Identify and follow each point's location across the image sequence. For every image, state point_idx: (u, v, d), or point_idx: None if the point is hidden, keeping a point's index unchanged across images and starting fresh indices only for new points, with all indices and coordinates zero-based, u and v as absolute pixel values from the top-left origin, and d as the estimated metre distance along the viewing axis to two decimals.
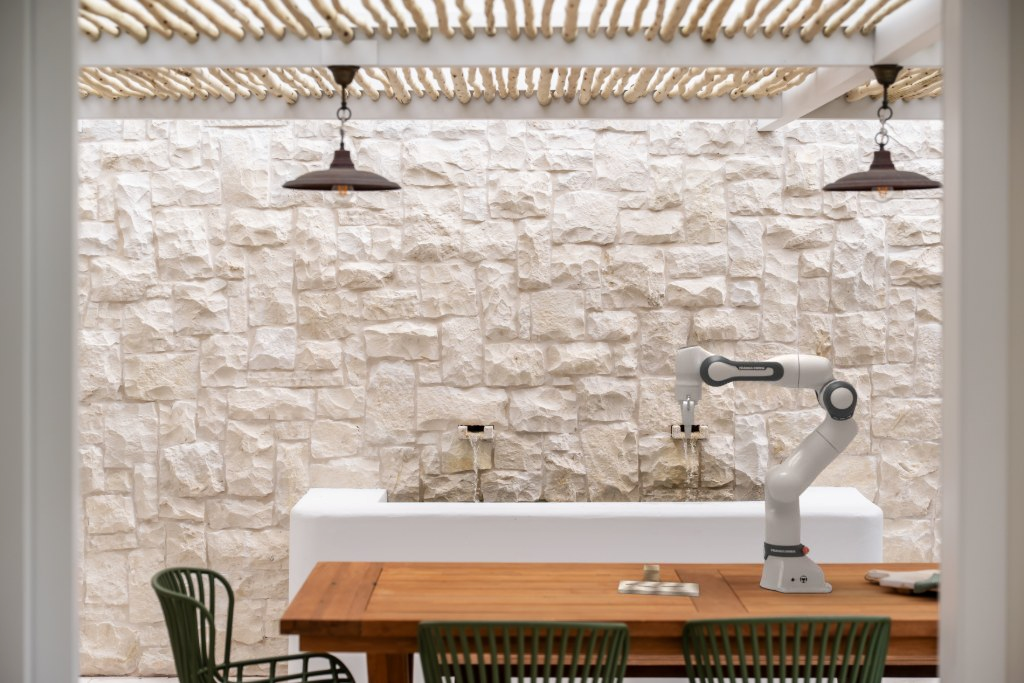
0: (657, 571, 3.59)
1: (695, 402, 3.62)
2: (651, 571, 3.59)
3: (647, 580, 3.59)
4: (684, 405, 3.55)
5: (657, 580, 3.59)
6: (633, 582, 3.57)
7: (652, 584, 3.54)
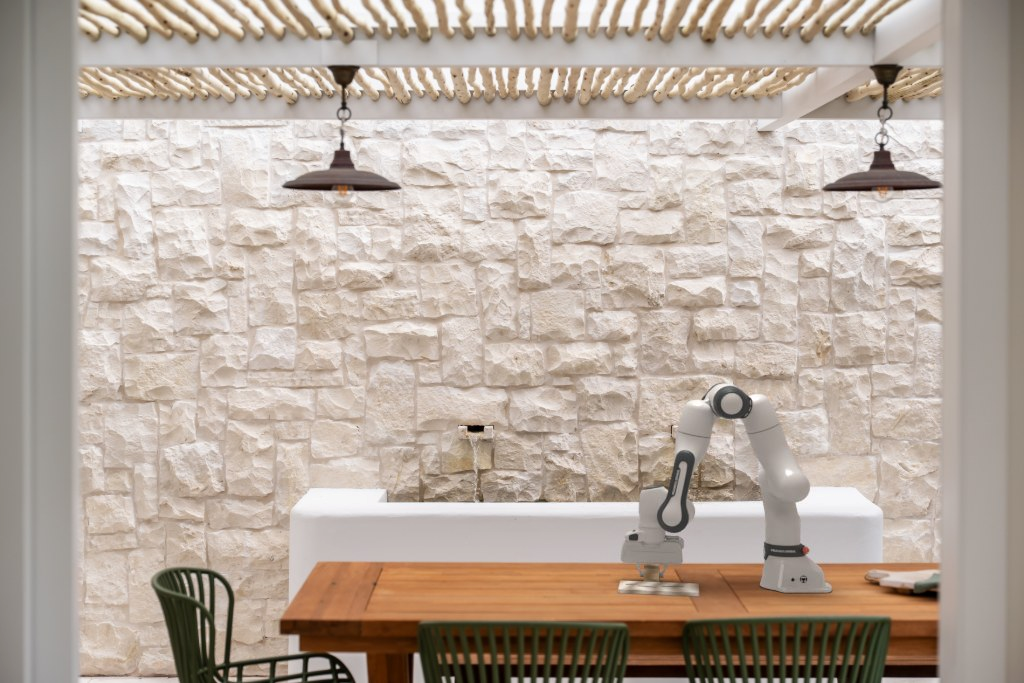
0: (657, 570, 3.59)
1: None
2: (651, 570, 3.59)
3: (647, 579, 3.59)
4: (680, 546, 3.61)
5: (657, 579, 3.59)
6: (633, 582, 3.57)
7: (652, 584, 3.54)
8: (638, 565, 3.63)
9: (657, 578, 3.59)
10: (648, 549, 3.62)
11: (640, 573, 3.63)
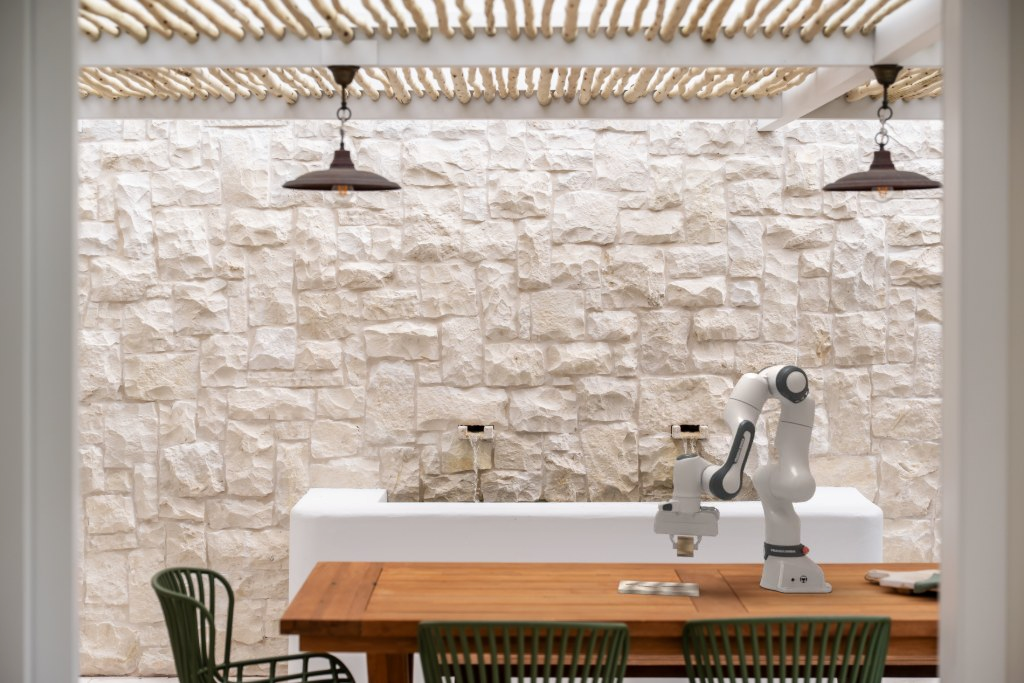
0: (691, 542, 3.46)
1: None
2: (685, 542, 3.46)
3: (681, 551, 3.46)
4: (716, 517, 3.48)
5: (691, 551, 3.46)
6: (633, 582, 3.57)
7: (652, 584, 3.54)
8: (671, 536, 3.50)
9: (691, 550, 3.46)
10: (682, 520, 3.49)
11: (673, 545, 3.50)
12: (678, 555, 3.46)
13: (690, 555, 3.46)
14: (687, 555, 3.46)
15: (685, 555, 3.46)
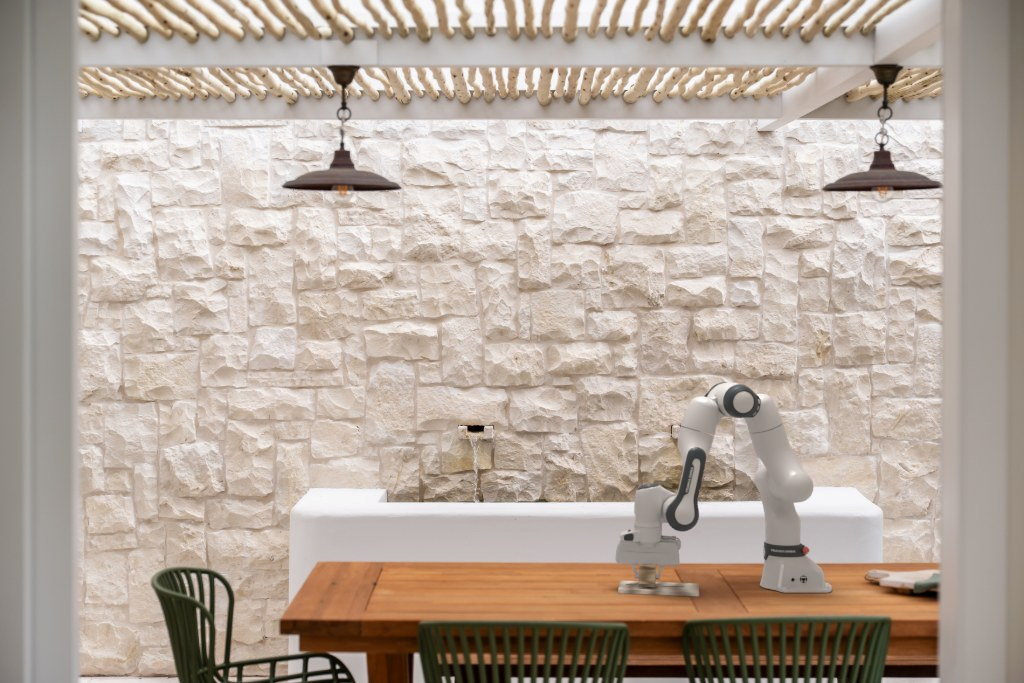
0: (653, 572, 3.47)
1: None
2: (646, 572, 3.48)
3: (642, 581, 3.48)
4: (677, 546, 3.50)
5: (653, 581, 3.47)
6: (633, 582, 3.57)
7: None
8: (633, 566, 3.52)
9: (653, 579, 3.47)
10: (644, 550, 3.51)
11: (635, 574, 3.52)
12: (640, 585, 3.48)
13: (652, 585, 3.47)
14: (649, 585, 3.47)
15: (647, 585, 3.47)
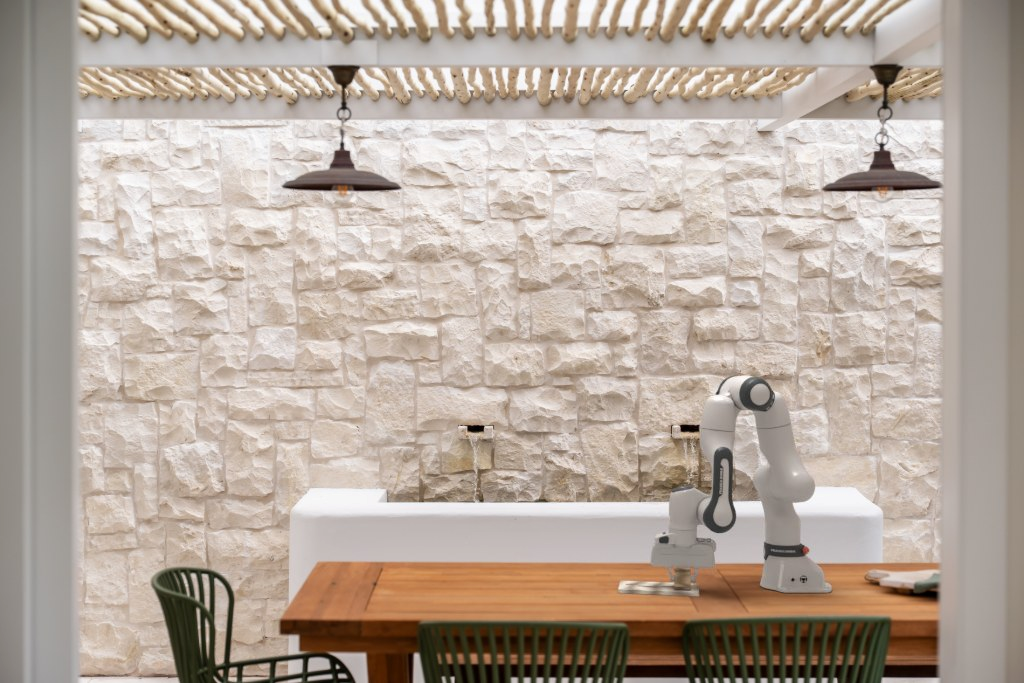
0: (688, 574, 3.46)
1: None
2: (682, 574, 3.46)
3: (678, 583, 3.46)
4: (712, 548, 3.48)
5: (688, 583, 3.46)
6: (633, 582, 3.57)
7: (652, 584, 3.54)
8: (669, 569, 3.50)
9: (689, 582, 3.46)
10: (679, 552, 3.49)
11: (671, 577, 3.50)
12: (675, 588, 3.47)
13: (687, 587, 3.46)
14: (684, 588, 3.46)
15: (682, 588, 3.46)
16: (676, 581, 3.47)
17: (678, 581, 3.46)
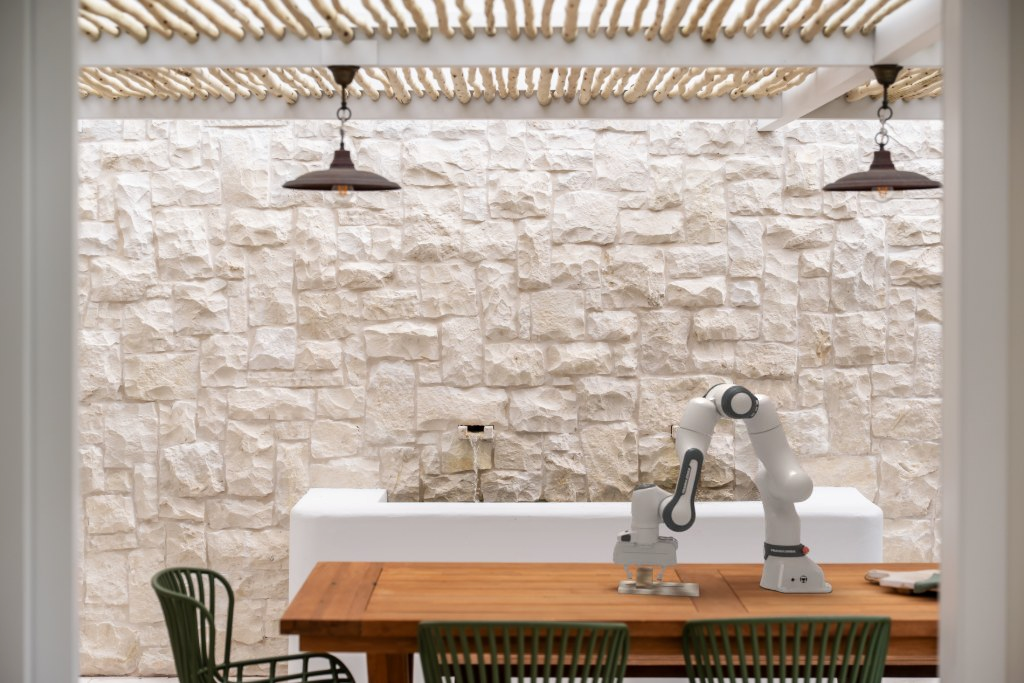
0: (650, 573, 3.48)
1: None
2: (644, 573, 3.48)
3: (639, 583, 3.48)
4: (674, 547, 3.50)
5: (650, 583, 3.48)
6: (633, 582, 3.57)
7: None
8: (626, 566, 3.52)
9: (650, 581, 3.48)
10: (641, 550, 3.51)
11: (628, 575, 3.52)
12: (637, 587, 3.48)
13: (649, 587, 3.48)
14: (646, 587, 3.48)
15: (644, 587, 3.48)
16: (638, 580, 3.48)
17: (640, 580, 3.48)
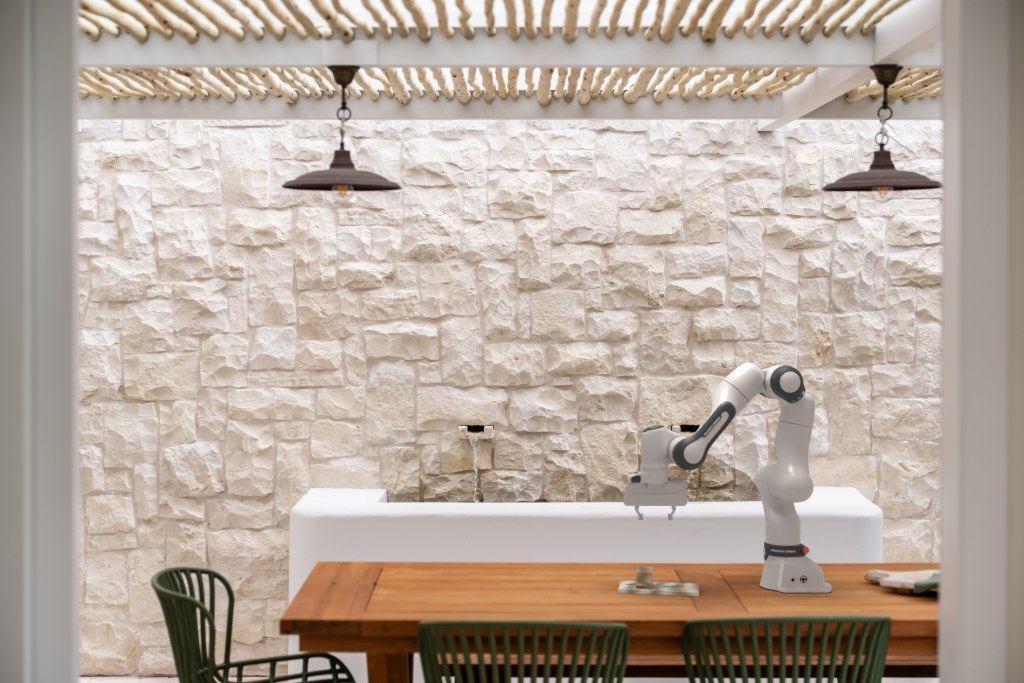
0: (650, 573, 3.48)
1: None
2: (644, 573, 3.48)
3: (639, 583, 3.48)
4: (684, 486, 3.52)
5: (650, 583, 3.48)
6: (633, 582, 3.57)
7: None
8: (637, 508, 3.55)
9: (650, 581, 3.48)
10: (651, 491, 3.54)
11: (639, 516, 3.55)
12: (637, 587, 3.48)
13: (649, 587, 3.48)
14: (646, 587, 3.48)
15: (644, 587, 3.48)
16: (638, 580, 3.48)
17: (640, 580, 3.48)
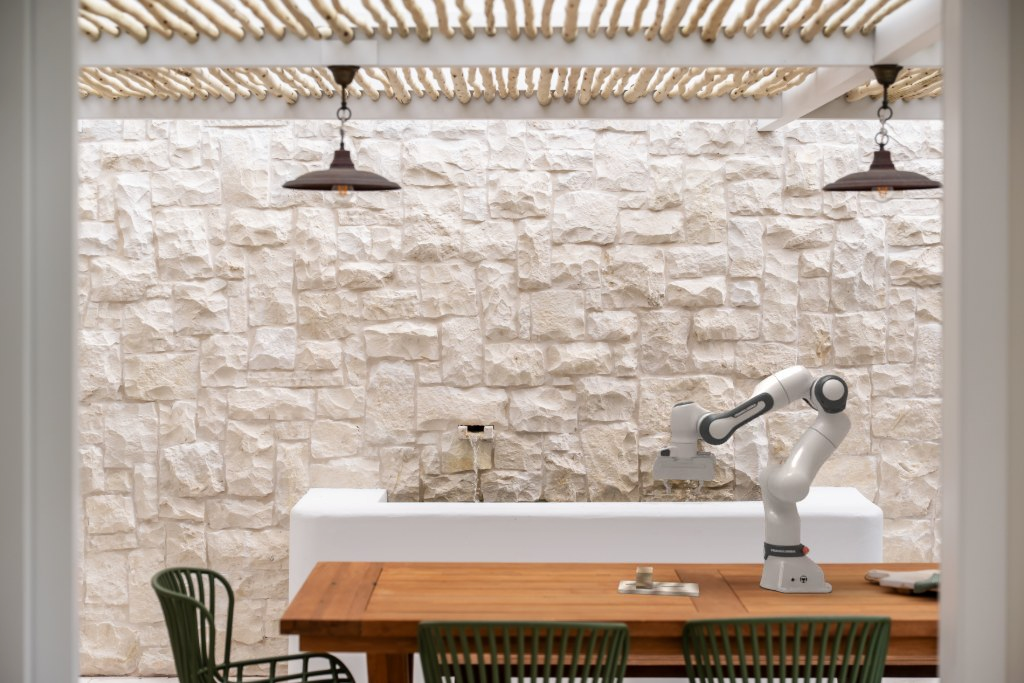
0: (650, 573, 3.48)
1: None
2: (644, 573, 3.48)
3: (639, 583, 3.48)
4: (712, 461, 3.61)
5: (650, 583, 3.48)
6: (633, 582, 3.57)
7: None
8: (665, 481, 3.64)
9: (650, 581, 3.48)
10: (680, 465, 3.63)
11: (667, 489, 3.64)
12: (637, 587, 3.48)
13: (649, 587, 3.48)
14: (646, 587, 3.48)
15: (644, 587, 3.48)
16: (638, 580, 3.48)
17: (640, 580, 3.48)
